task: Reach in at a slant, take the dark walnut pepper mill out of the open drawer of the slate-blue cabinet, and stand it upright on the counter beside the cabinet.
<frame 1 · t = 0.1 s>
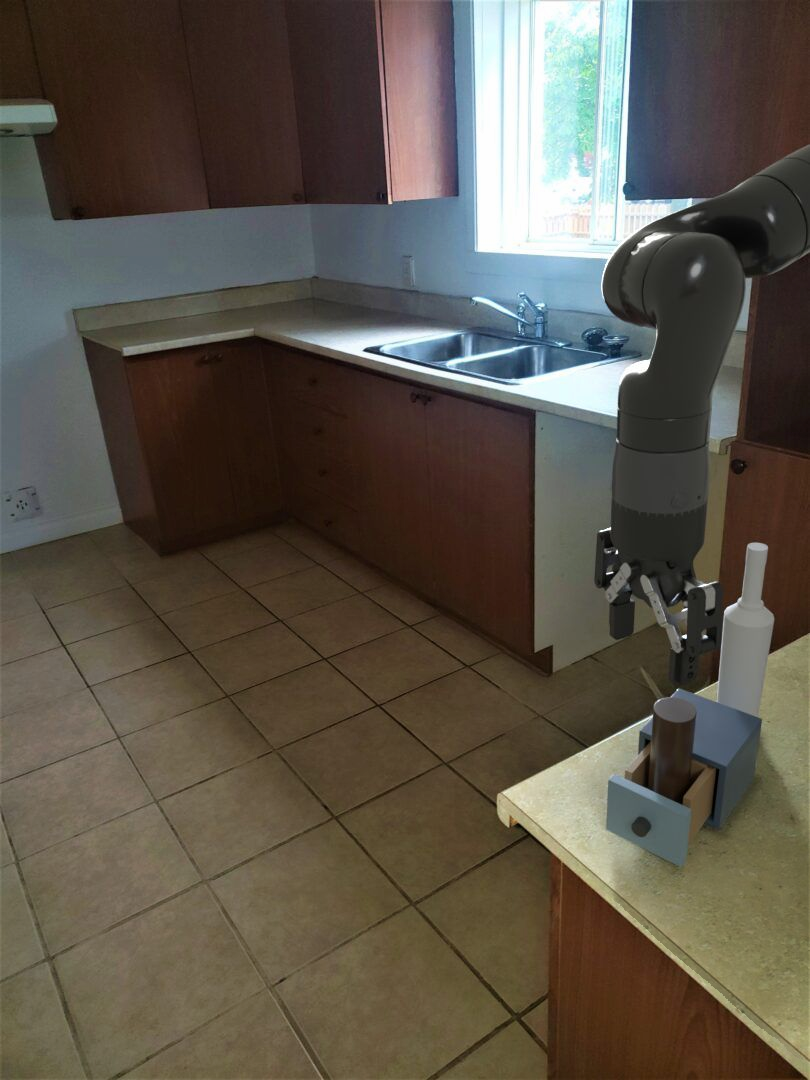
hand: (649, 658, 73), 23 cm above the countertop, tool pointing down, fingers open, 8 cm apart
bottle: (734, 734, 98), on the countertop
pepper mill: (666, 810, 85), point 2 cm above the countertop, touching drawer
cabinet: (694, 785, 90), on the countertop
drawer: (660, 802, 83), point 4 cm above the countertop, slide at 6.5 cm, touching pepper mill
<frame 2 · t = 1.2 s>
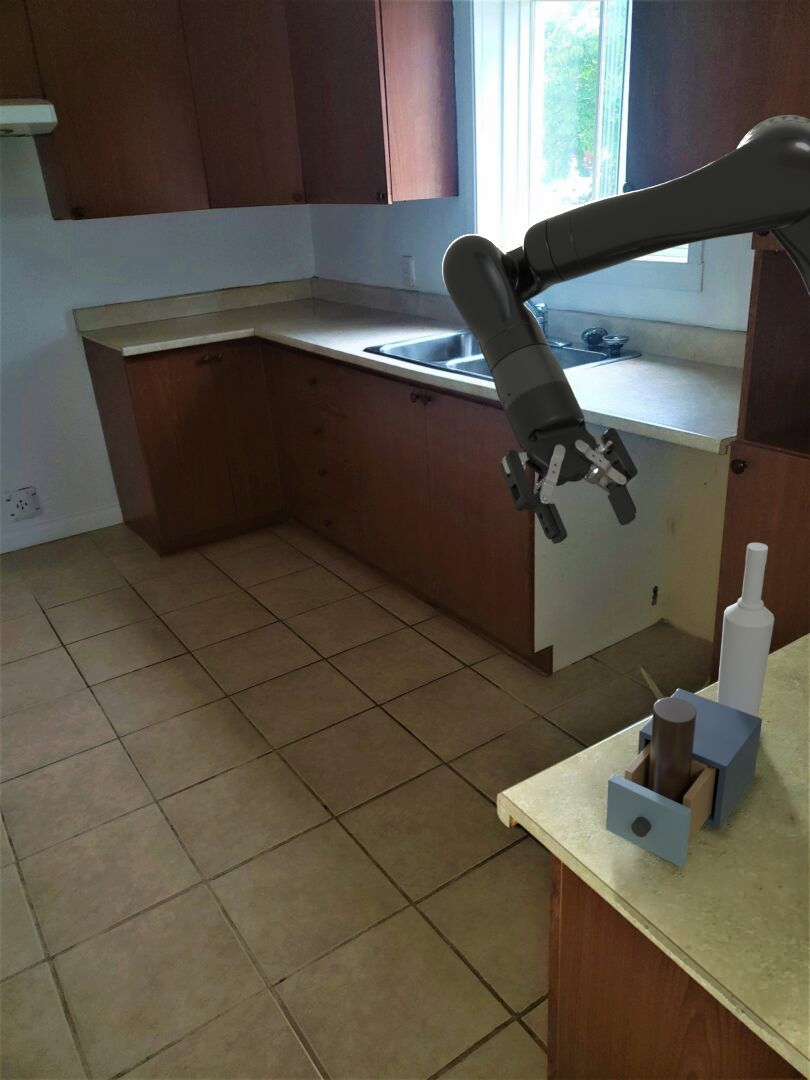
hand: (595, 531, 85), 29 cm above the countertop, tool tilted 45°, fingers open, 8 cm apart
nothing on the countertop moved.
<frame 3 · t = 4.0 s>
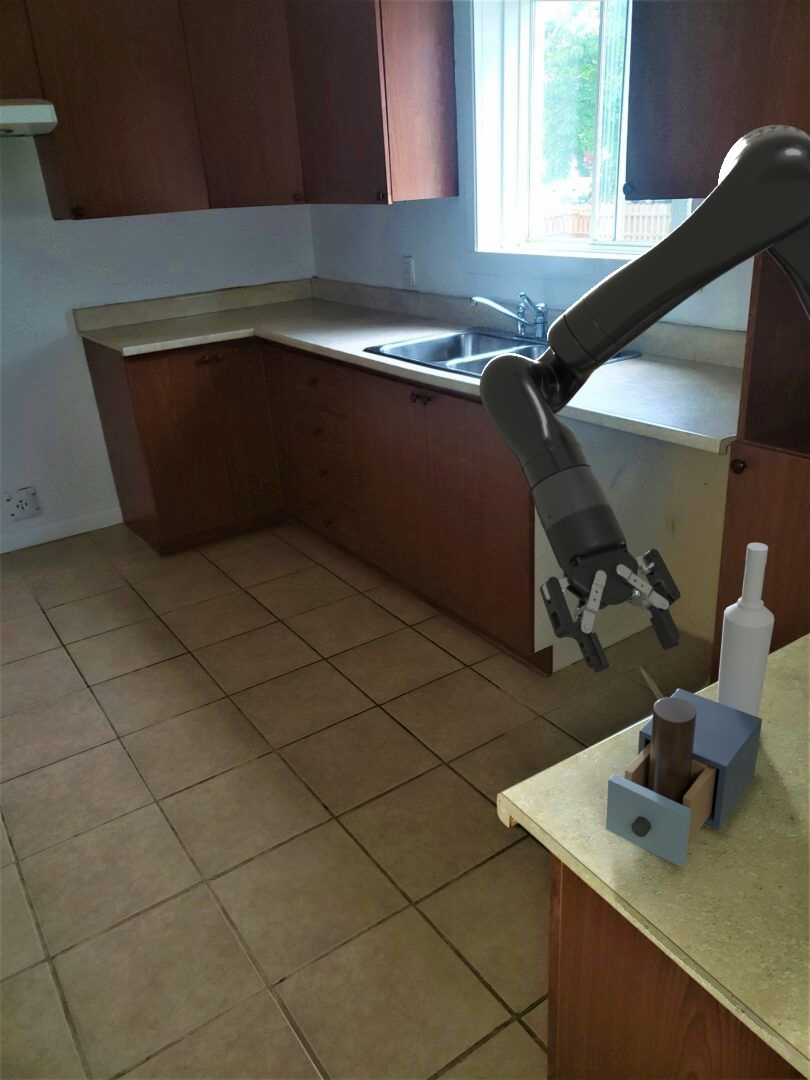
hand: (638, 658, 83), 17 cm above the countertop, tool tilted 45°, fingers open, 8 cm apart
nothing on the countertop moved.
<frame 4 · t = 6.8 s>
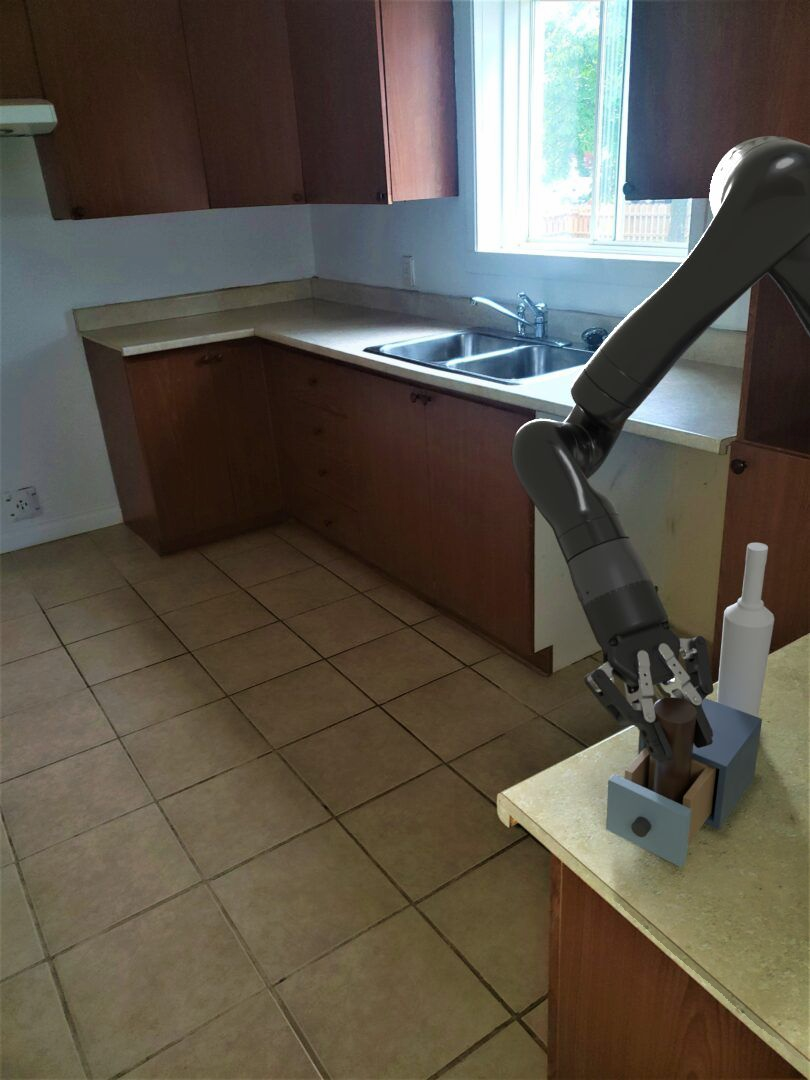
hand: (685, 752, 79), 11 cm above the countertop, tool tilted 45°, fingers closed on pepper mill, 4 cm apart
pepper mill: (666, 810, 85), point 2 cm above the countertop, touching drawer, gripper
everything else where it was.
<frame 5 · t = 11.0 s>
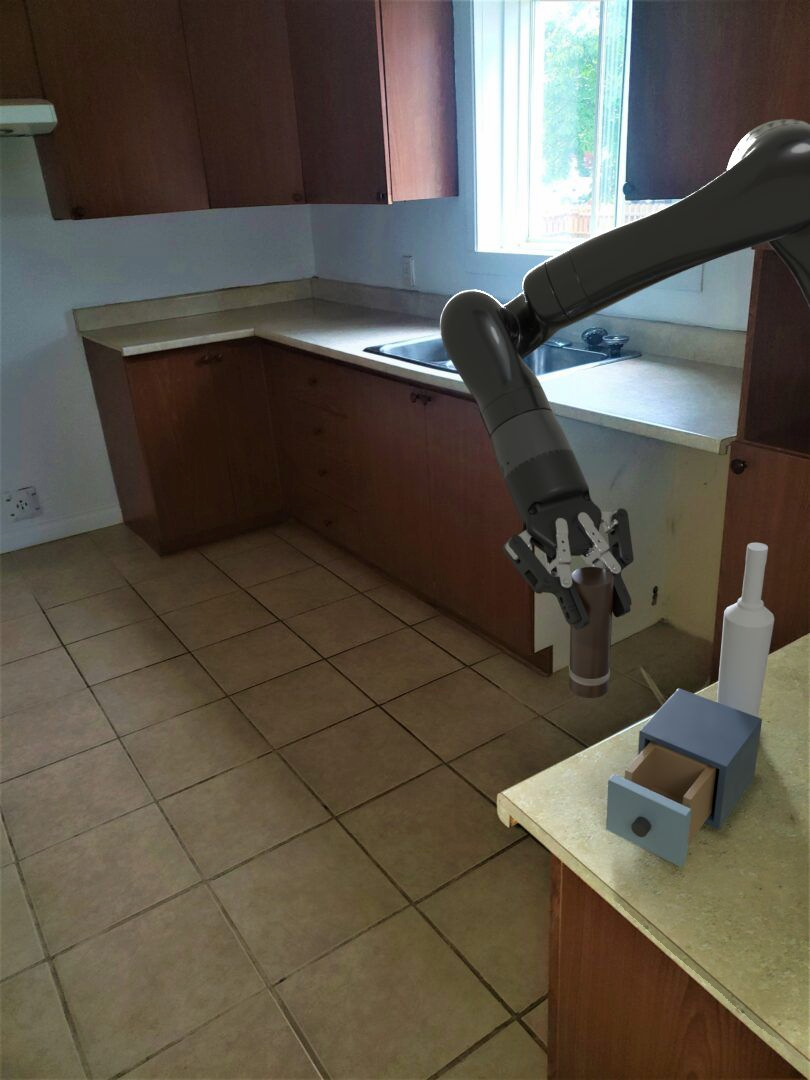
hand: (603, 619, 79), 24 cm above the countertop, tool tilted 45°, fingers closed on pepper mill, 4 cm apart
pepper mill: (588, 686, 84), point 15 cm above the countertop, touching gripper
drawer: (660, 802, 83), point 4 cm above the countertop, slide at 6.5 cm
everything else where it was.
when the fingers open (9 cm above the countertop, at t = 15.2 s): pepper mill stays where it is, on the countertop.
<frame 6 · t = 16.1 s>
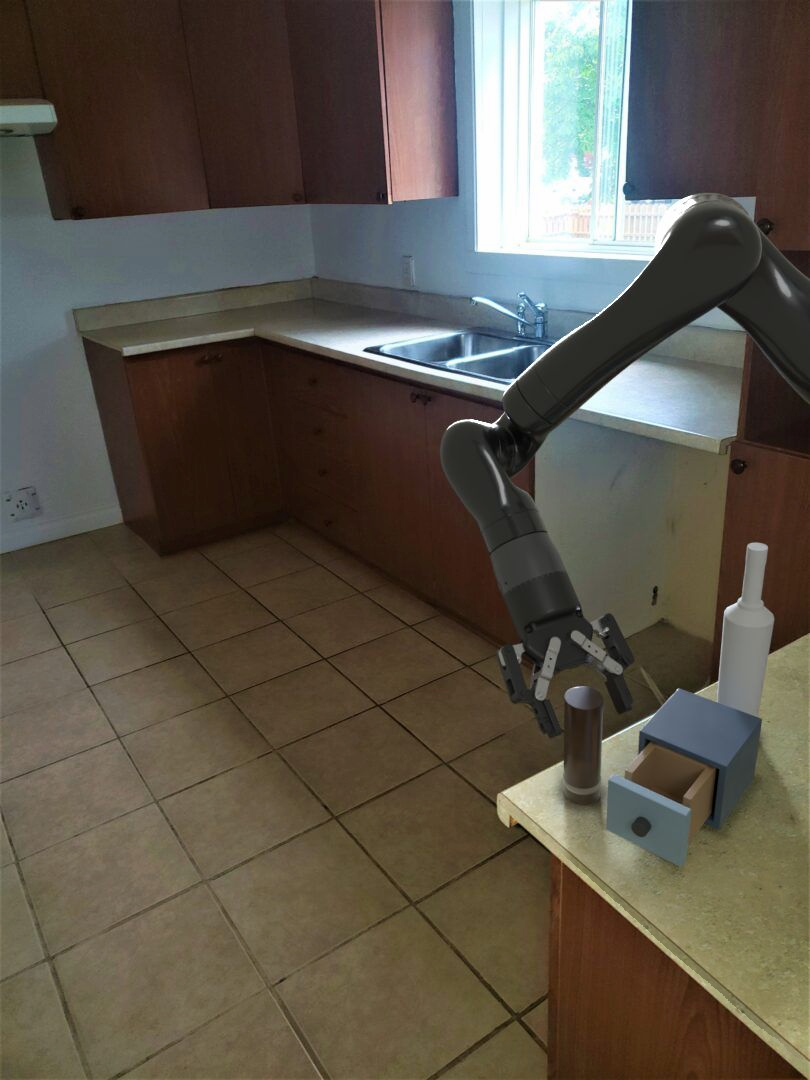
hand: (591, 724, 85), 10 cm above the countertop, tool tilted 45°, fingers open, 8 cm apart
pepper mill: (581, 792, 91), on the countertop
everything else where it was.
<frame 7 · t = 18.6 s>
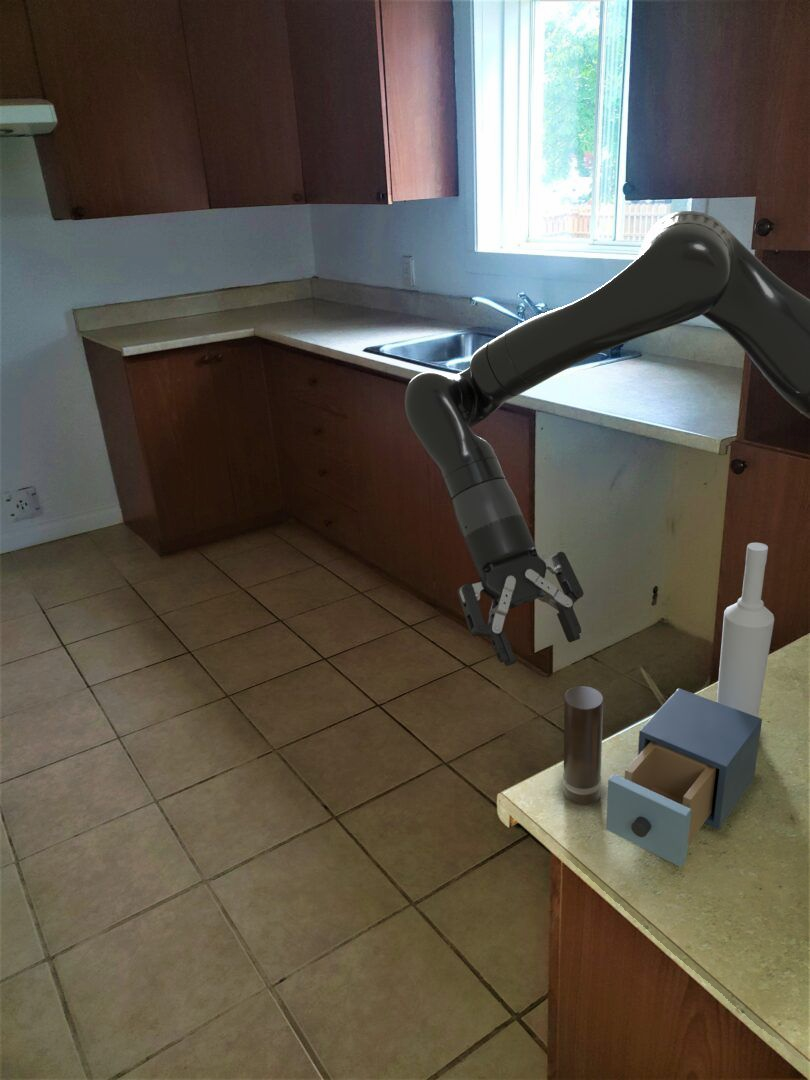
hand: (543, 652, 95), 12 cm above the countertop, tool tilted 40°, fingers open, 8 cm apart
nothing on the countertop moved.
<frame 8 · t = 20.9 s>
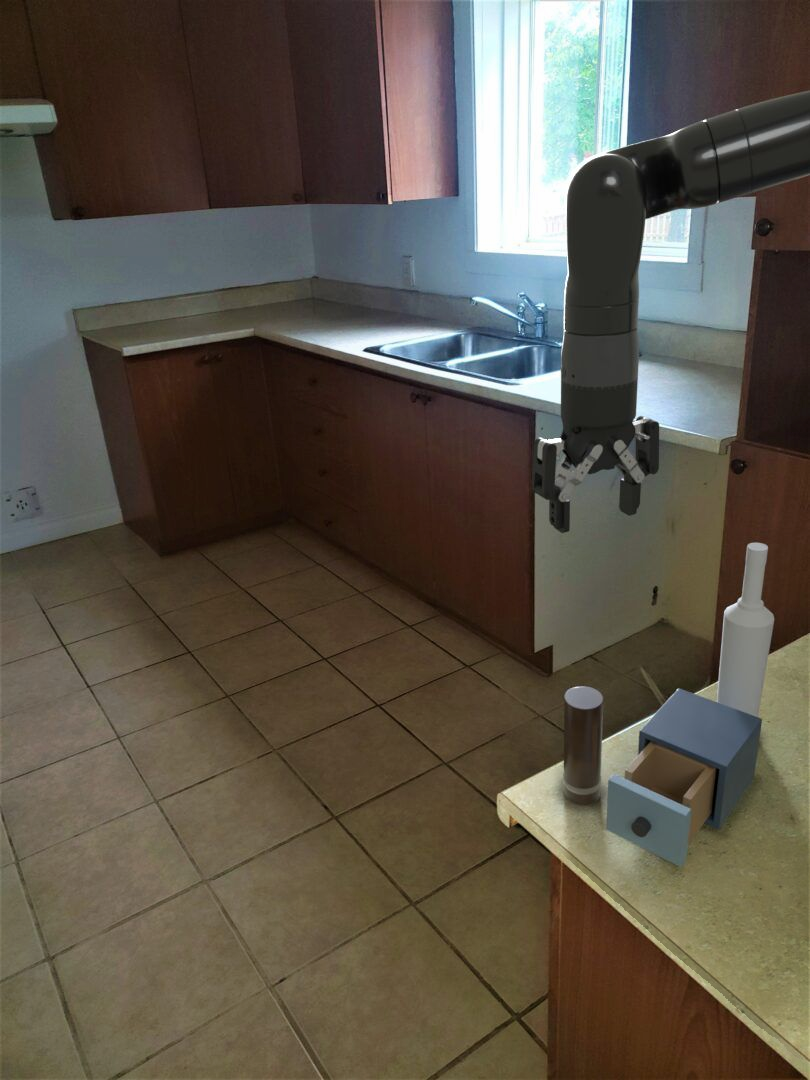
hand: (595, 521, 88), 28 cm above the countertop, tool pointing down, fingers open, 8 cm apart
nothing on the countertop moved.
at the end: pepper mill 0.1 cm from the target spot, on the countertop; pepper mill tilted 0°; the gripper is holding nothing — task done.
